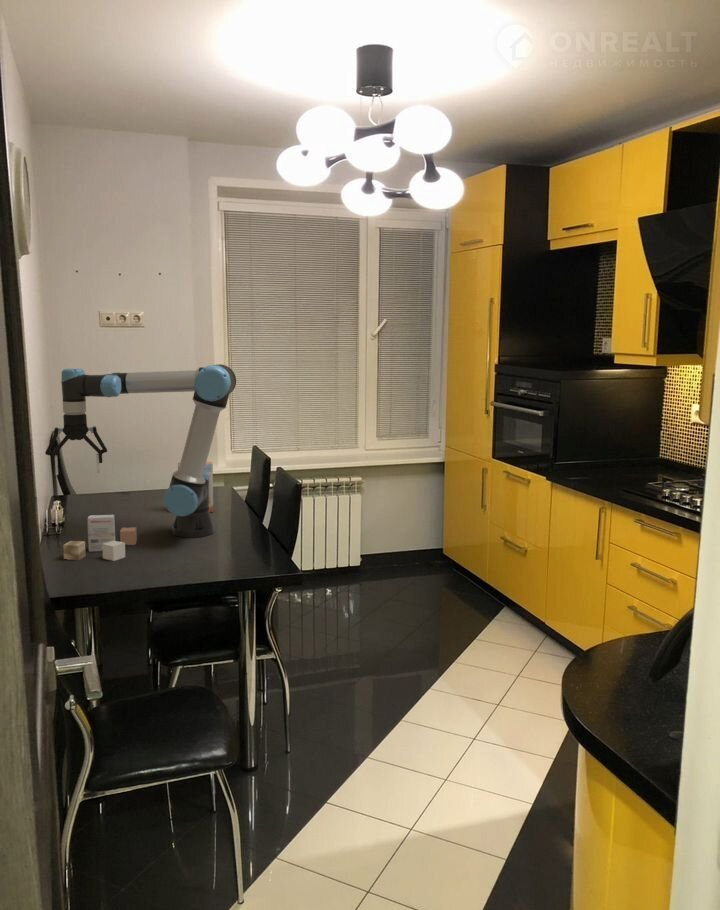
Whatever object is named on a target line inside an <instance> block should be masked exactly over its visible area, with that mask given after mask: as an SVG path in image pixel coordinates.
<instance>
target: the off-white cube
mask: <svg viewBox="0 0 720 910" xmlns="http://www.w3.org/2000/svg"><path fill="white" fill-rule="evenodd" d="M102 548H103V551H102V559H104V560H108V561H113V562H115V561H118V560H121V559H124V558H126V545H125V543H124V542H120V541H118V540H115V541H111V542H107V543H104V544H102Z"/></svg>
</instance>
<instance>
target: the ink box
mask: <svg viewBox="0 0 720 910" xmlns="http://www.w3.org/2000/svg"><path fill="white" fill-rule="evenodd" d="M87 539H88V540H87V542H88V543H87V544H88V545H87V546H88V552H103V548H102V544H104V543H107V542H111V541H116V522H115V514H101V515H100V514H96V515H89V516H88V517H87Z"/></svg>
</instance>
